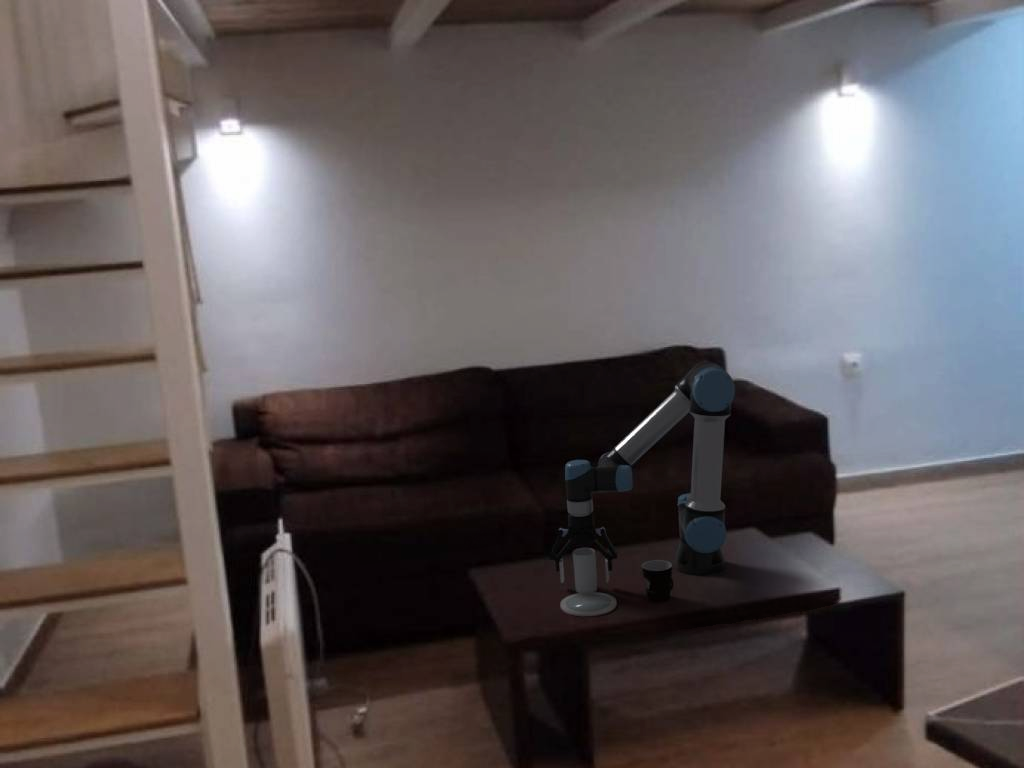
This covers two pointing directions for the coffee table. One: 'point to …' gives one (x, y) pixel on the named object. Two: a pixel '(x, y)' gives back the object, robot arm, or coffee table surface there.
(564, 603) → the plate
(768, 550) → the coffee table surface
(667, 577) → the coffee mug
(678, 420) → the robot arm
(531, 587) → the coffee table surface
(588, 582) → the mug
